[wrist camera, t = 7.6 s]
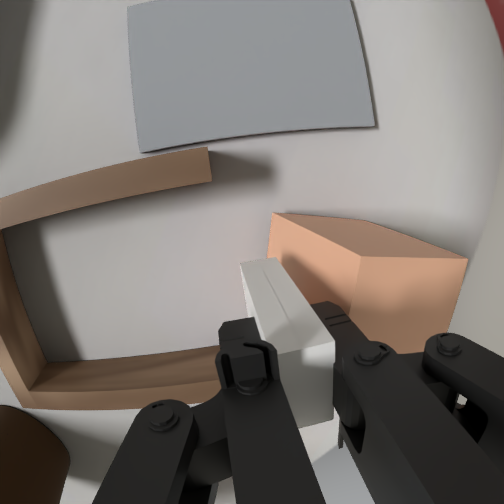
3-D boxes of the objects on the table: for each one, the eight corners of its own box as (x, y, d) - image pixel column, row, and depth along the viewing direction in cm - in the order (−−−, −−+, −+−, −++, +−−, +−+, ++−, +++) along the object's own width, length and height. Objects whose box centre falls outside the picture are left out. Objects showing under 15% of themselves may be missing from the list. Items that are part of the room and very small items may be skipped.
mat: (129, 11, 13) (127, 6, 13) (344, -3, 14) (347, -7, 14) (142, 153, 16) (139, 152, 15) (370, 126, 17) (374, 125, 16)
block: (272, 212, 17) (361, 256, 9) (364, 220, 18) (468, 258, 11) (259, 317, 18) (322, 408, 11) (347, 311, 20) (428, 379, 13)
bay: (-19, 208, 15) (-51, 218, 11) (207, 150, 16) (207, 146, 13) (40, 379, 18) (23, 407, 15) (242, 361, 20) (249, 395, 16)
